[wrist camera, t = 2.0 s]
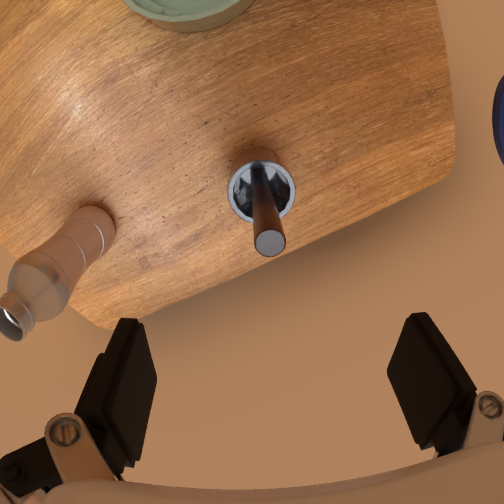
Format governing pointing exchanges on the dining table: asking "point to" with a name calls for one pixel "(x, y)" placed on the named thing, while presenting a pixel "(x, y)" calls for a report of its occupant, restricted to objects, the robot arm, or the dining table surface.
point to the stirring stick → (265, 216)
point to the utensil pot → (242, 185)
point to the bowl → (188, 13)
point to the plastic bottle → (53, 271)
